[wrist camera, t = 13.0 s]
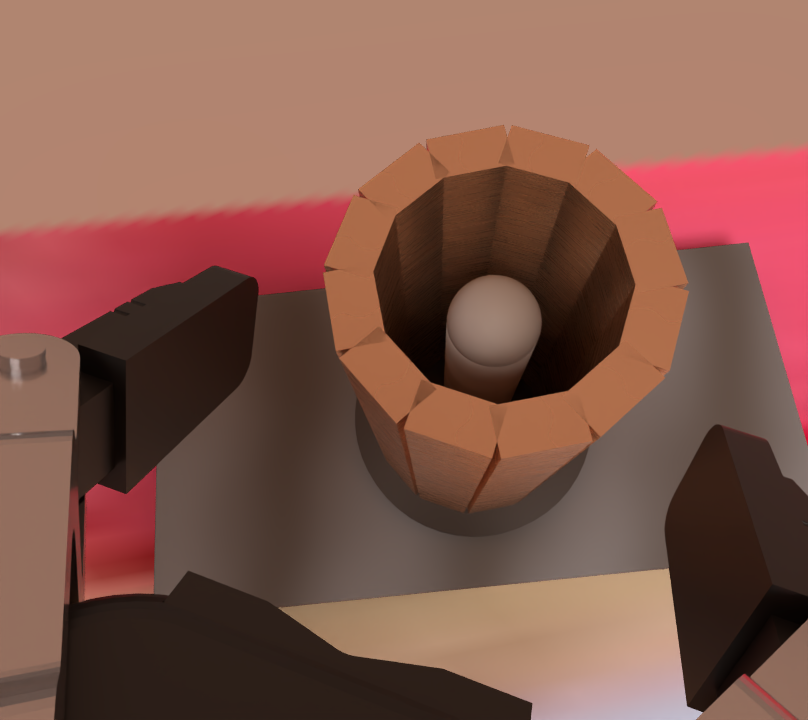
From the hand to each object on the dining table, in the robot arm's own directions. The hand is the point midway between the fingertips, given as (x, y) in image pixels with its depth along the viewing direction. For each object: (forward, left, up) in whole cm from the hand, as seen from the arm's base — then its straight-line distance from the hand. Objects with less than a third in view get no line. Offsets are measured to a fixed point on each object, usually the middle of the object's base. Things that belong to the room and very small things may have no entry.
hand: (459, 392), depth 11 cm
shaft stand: (0, +2, -11) cm, 11 cm away
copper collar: (0, +2, -9) cm, 9 cm away
